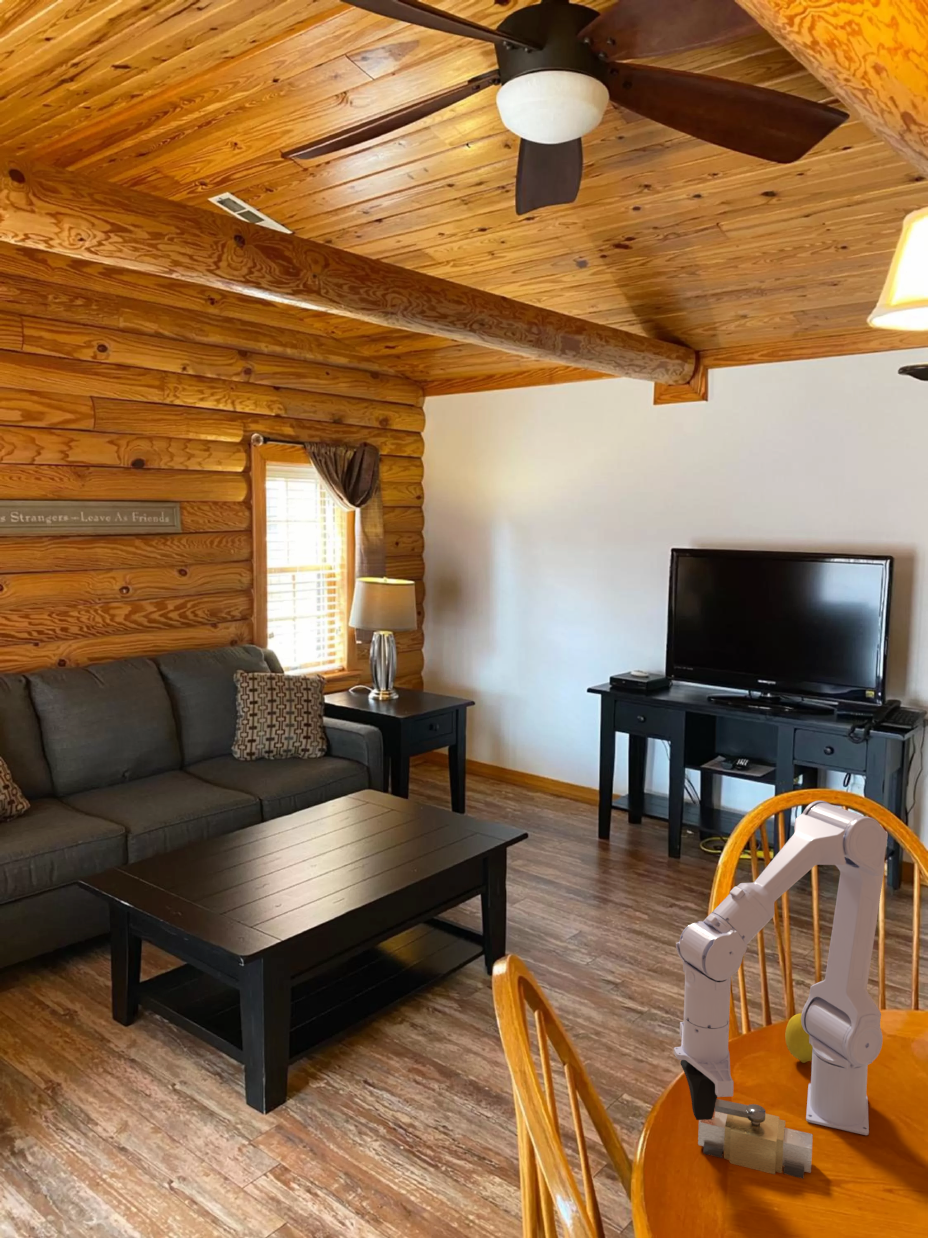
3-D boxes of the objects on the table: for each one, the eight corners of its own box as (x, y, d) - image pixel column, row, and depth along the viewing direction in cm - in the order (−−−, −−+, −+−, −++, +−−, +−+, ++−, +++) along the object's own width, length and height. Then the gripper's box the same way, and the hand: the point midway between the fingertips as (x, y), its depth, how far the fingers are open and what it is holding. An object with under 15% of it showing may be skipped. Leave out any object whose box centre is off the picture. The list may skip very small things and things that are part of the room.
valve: (702, 1130, 127) (703, 1095, 126) (811, 1156, 122) (813, 1120, 121) (696, 1154, 122) (697, 1118, 121) (810, 1183, 116) (811, 1146, 116)
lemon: (823, 1075, 140) (825, 1024, 140) (784, 1069, 142) (787, 1019, 141) (820, 1056, 146) (823, 1007, 145) (783, 1050, 147) (785, 1001, 146)
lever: (765, 1119, 122) (766, 1101, 122) (764, 1130, 120) (765, 1112, 120) (699, 1105, 125) (699, 1088, 125) (697, 1115, 123) (697, 1098, 122)
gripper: (659, 991, 127) (656, 1086, 128) (695, 1049, 113) (691, 1155, 114) (709, 990, 128) (705, 1084, 129) (751, 1046, 113) (747, 1152, 114)
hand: (702, 1117), depth 121 cm, fingers closed
